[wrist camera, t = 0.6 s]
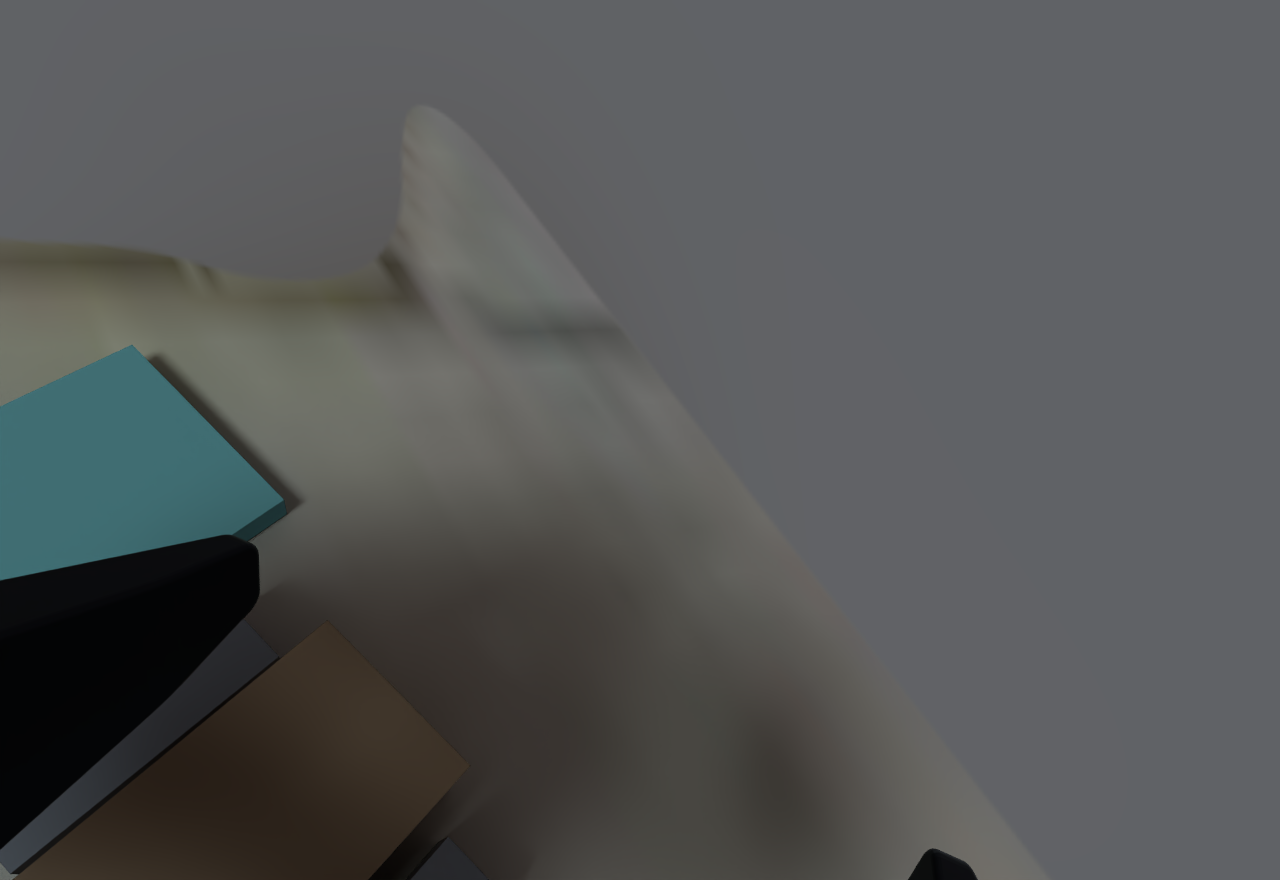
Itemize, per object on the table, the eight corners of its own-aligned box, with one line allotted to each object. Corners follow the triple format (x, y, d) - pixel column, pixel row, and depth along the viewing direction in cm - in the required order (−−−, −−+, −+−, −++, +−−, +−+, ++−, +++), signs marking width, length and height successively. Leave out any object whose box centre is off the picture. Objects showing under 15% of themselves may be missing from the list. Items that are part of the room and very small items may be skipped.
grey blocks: (303, 1175, 15) (295, 1219, 13) (-15, 794, 17) (-67, 782, 15) (505, 913, 19) (523, 916, 17) (227, 615, 20) (212, 586, 18)
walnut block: (164, 1105, 15) (93, 1184, 11) (26, 942, 16) (-87, 961, 12) (448, 790, 20) (470, 765, 16) (333, 672, 21) (327, 619, 16)
